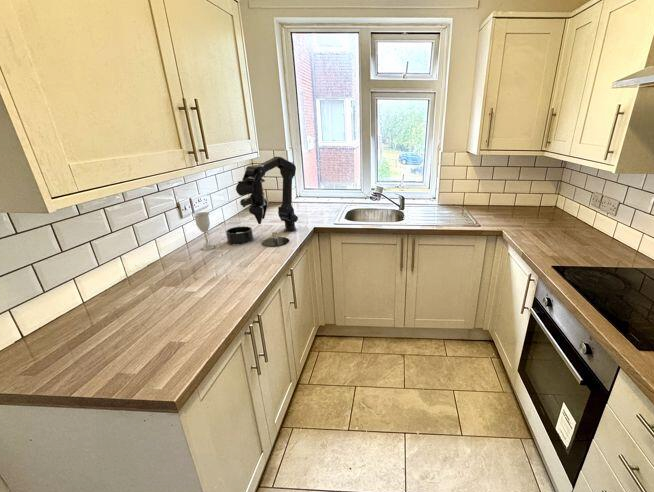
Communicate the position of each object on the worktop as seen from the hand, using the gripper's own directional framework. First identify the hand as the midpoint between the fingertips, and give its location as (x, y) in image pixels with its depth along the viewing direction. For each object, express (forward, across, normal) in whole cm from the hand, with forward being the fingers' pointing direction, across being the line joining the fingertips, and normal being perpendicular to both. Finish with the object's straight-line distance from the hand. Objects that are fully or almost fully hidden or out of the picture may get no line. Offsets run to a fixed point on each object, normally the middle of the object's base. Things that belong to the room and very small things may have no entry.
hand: (261, 221), depth 165 cm
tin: (+12, -4, -13) cm, 18 cm away
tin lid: (+11, +2, +6) cm, 13 cm away
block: (+11, -4, -13) cm, 18 cm away
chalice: (+12, +5, -27) cm, 30 cm away
